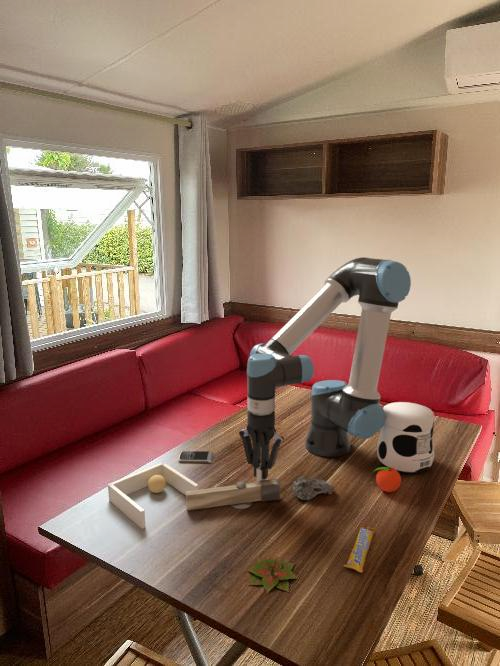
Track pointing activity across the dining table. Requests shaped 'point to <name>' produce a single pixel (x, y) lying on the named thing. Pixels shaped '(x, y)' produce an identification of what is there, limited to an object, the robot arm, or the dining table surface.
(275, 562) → the lily flower
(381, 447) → the milk container
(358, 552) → the candy bar
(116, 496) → the frame
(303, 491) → the fossilized seashell
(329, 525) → the dining table surface
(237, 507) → the pivot disc
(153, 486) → the ball
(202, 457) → the cell phone
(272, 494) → the lever
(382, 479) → the clementine
